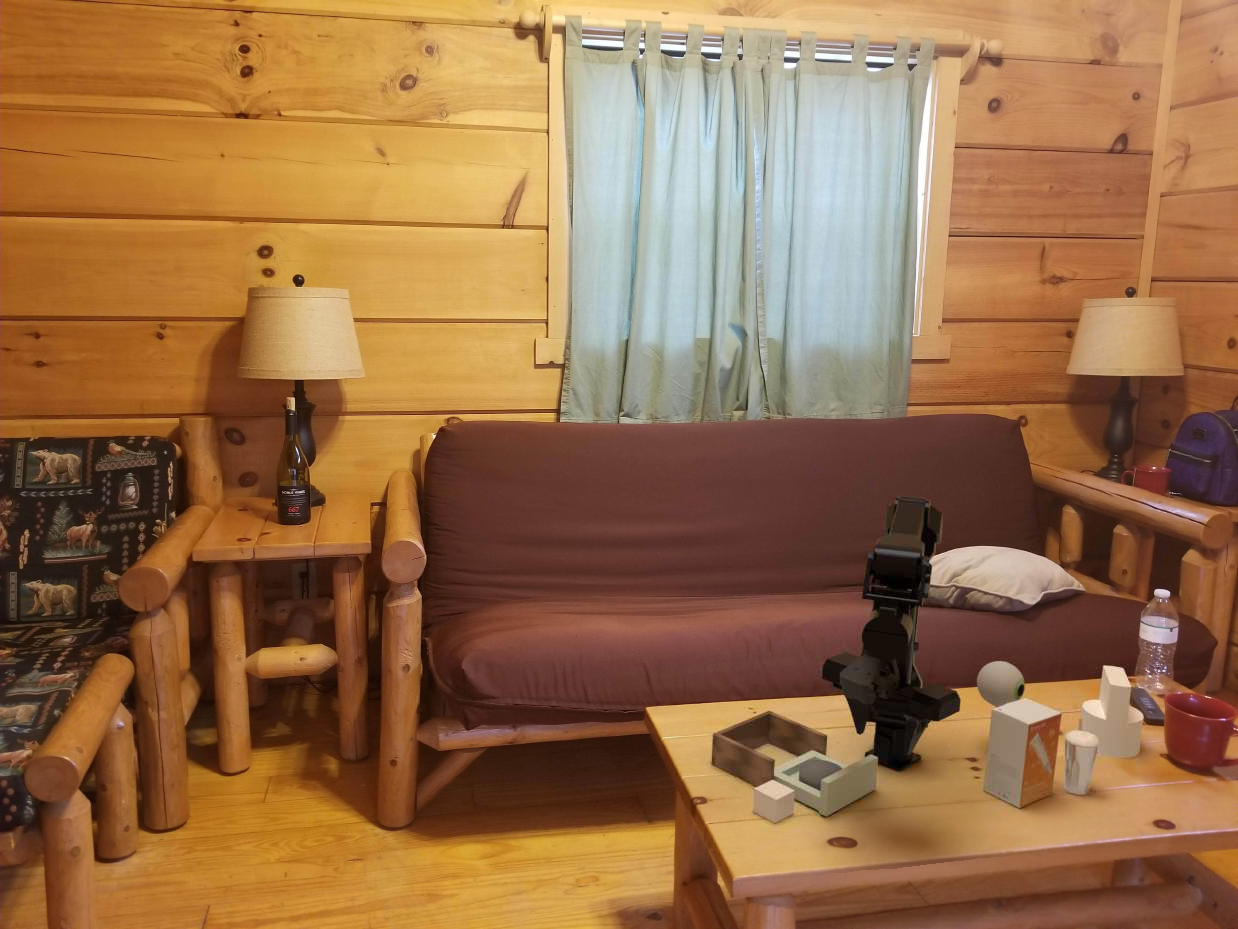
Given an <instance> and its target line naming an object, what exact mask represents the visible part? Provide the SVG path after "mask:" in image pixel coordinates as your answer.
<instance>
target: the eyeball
mask: <svg viewBox="0 0 1238 929" xmlns="http://www.w3.org/2000/svg"><path fill="white" fill-rule="evenodd" d="M976 687H977V690H978V693H979V694H980V696H981V697H982V699H983V700H984V701H986V702H987V703H988V704H989V705H992V706H994V707H995V708H997V707H1000V706H1002V705H1005V704H1007V703H1010V702H1014V701H1017V700H1021V699H1022V698H1023V695H1024V692H1025V688H1026V685H1025V678H1024V676H1023V674H1022V672H1021V671H1020V670H1019V668H1017V667H1016V666H1014V665H1013V664H1011V663H1009V662H1008V661H1004V660H1003V661H1001V660H999V661H998V660H997V661H992V662H989V663H986V665H984V666H983V667H982V668H981V669H980V671H979V672H978V674H977V677H976Z"/></svg>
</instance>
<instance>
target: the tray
mask: <svg viewBox="0 0 1238 929" xmlns="http://www.w3.org/2000/svg"><path fill="white" fill-rule="evenodd" d="M809 760H825V761H829V762H832V763H835V764H837V765H839V766H840V767H841V768H842V770H840V771H838V772H836V773H834V774H832V775H830V776H828V777H826V778H824V779H822V780H821V791H819V790H817V789H815V788H813V787H810V786H808V785H806V784H804V783H802V782H800V781H799V770H800V765H801V764H802V763H803V762H805V761H809ZM878 763H879V762H878V757H876V756H874V755H869V756H867V757H865V756H864V757H863V758H862V759H859V760H857V761H855V762H853V763H852V764H850V765H847V764H846V763H843V762H841V761H838V760H836V759H834V758H831V757H829V756H827V755H826V756H825V755H823V754H821V753H818V752H816V751H814V750H812V751H809V752H807V753H805V754H803V755H801V756H797V757H795V758H792V759H791V760H789V761H786V762H784V763H782V764H781V765H778V766H776V767H774V781H776V782H778V783H780V784H782V785H784V786H787V787H789V788H791V789H793V790H795V797H794V800H796V801H798V802H801V803H802V804H805V805H807V806H808V807H811V808H813V809H815V810H816V811H818V813H819V814H821V815H822V816H825V817H829V816H830V815H832V814H833V813H835V812H837V811H839V810H841V809H843V808H844V807H847V805H850V804H852V803H853V802H855V801H856V800H859V799H860V798H863V797H864V796H866V795H867V794H870V793H871V792H873V791H875V790H877V779H878V778H877V774H878Z"/></svg>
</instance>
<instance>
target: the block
mask: <svg viewBox="0 0 1238 929" xmlns="http://www.w3.org/2000/svg"><path fill="white" fill-rule="evenodd" d="M794 797H795V790H793V789H791V788H789V787H787V786H784V785H782V784H780V783H778V782H776V781H774V780H771V781H769V782H767V783H765V784H763V785H760V786H758V787H756V786H755V787H754V788H753V800H752V801H753V805H752V813H755V814H756V815H758V816H760V817H762V818H764V819H766V820H768V821H770V822H772V823H774V824H777V823H779V822H781V821H782V820H784V819H786V818H789V817H790V816H792V815H793V814H794V812H795V811H794V808H795V799H794Z"/></svg>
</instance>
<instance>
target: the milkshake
mask: <svg viewBox="0 0 1238 929" xmlns="http://www.w3.org/2000/svg"><path fill="white" fill-rule="evenodd" d="M1082 722H1083V719H1081V718H1078V730H1077V729H1075V730H1074V729H1073V730H1070V731H1068V732H1067V733H1066V734H1065V735H1064V782H1063V783H1064V790H1065V791H1066V792H1068V793H1070V794H1072V795H1076V796H1086V795H1087V794H1089V791H1090V784H1091V781H1092V775H1093V770H1094V766H1095V762H1096V757H1097V754H1098V753H1097V750H1098V745H1099V740H1098V738H1097V737H1096V736H1095V735H1094V734H1091V733H1089V732H1084V731H1082Z"/></svg>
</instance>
